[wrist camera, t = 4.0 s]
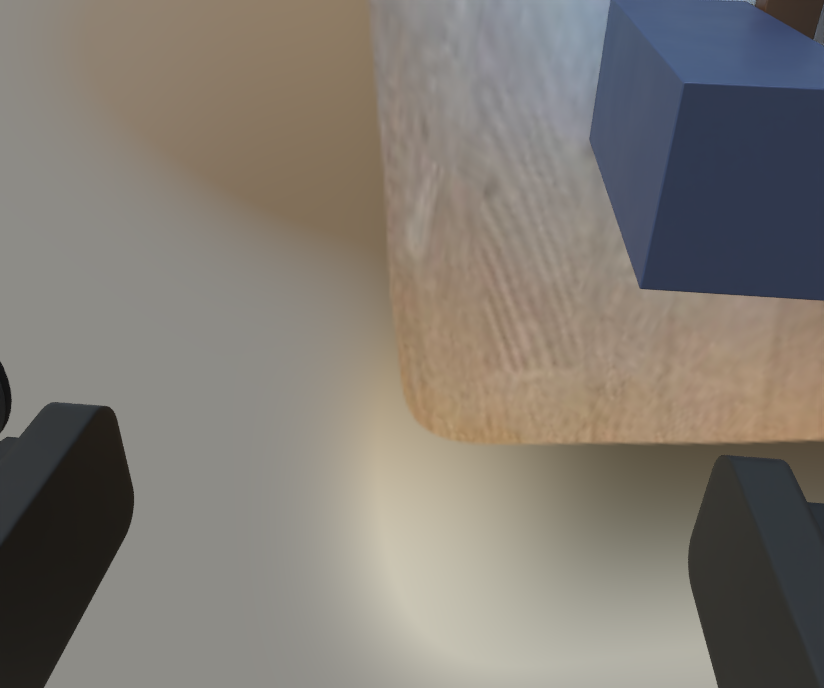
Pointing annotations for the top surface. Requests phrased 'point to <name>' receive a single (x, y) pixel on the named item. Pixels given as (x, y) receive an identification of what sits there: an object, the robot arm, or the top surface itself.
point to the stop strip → (794, 13)
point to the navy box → (713, 147)
